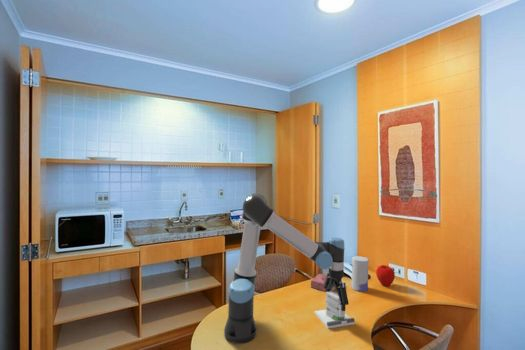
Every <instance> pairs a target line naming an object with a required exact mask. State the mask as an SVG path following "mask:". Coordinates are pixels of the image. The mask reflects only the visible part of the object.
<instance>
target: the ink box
mask: <svg viewBox="0 0 525 350" xmlns="http://www.w3.org/2000/svg"><path fill="white" fill-rule="evenodd" d="M325 296H326V297H325V310H326V315H327V316H329V317H331V318H332V319H334V320H335V321H337V320H343V319H344V317H339V308H340V303H341V302H340V299H339V296H338V292H335V291H334V292H333V291H331V292H327V293H326V292H325ZM342 302H343V301H342Z"/></svg>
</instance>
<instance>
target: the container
mask: <svg viewBox="0 0 525 350" xmlns="http://www.w3.org/2000/svg"><path fill="white" fill-rule="evenodd" d="M351 261H352V262H351V266H352V267H351V289H352V290H354V291H357V292H361V293H364V292H368V290H369V266H370V265H369V258H368V257H365V256H360V255H355V256H352V260H351Z"/></svg>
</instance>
